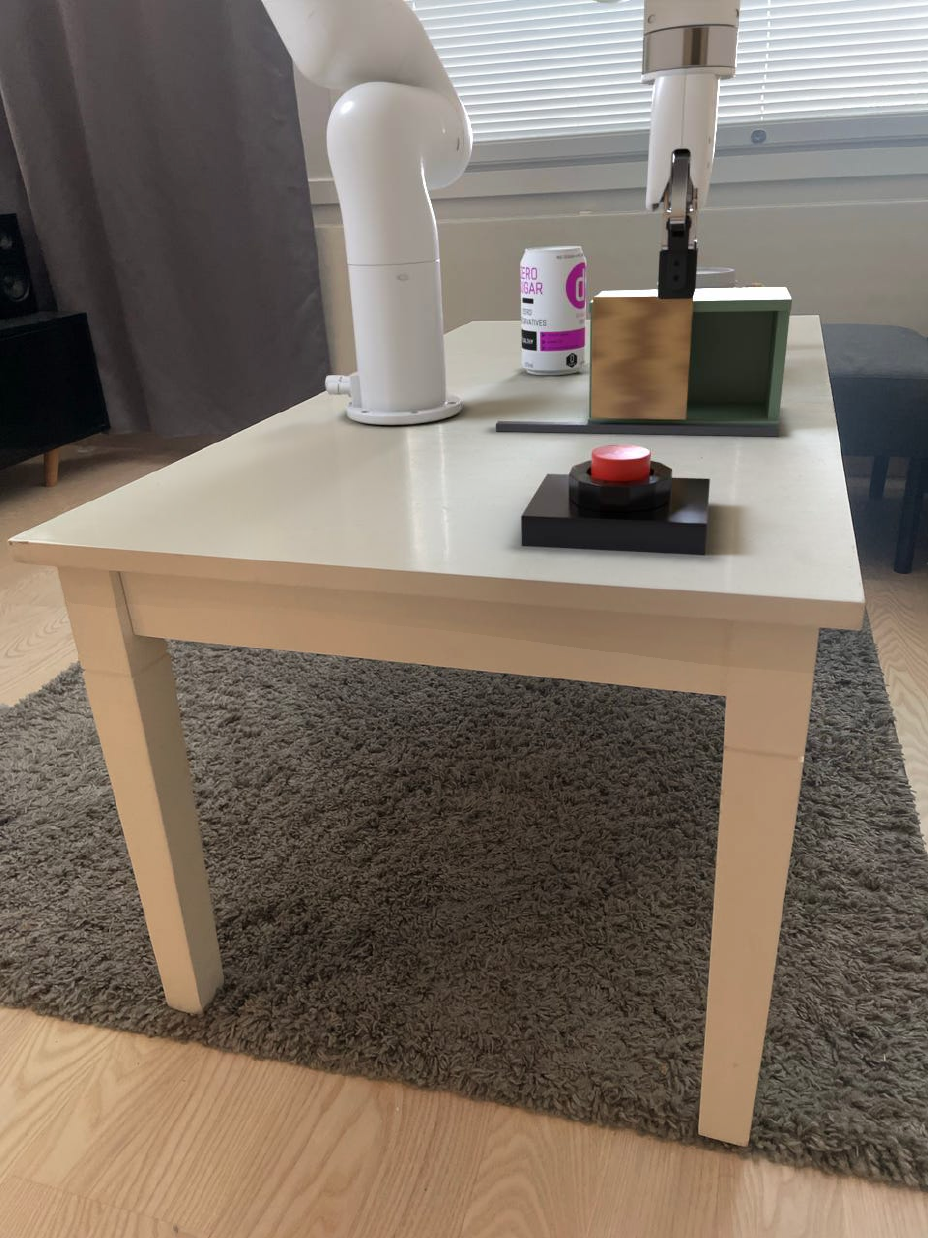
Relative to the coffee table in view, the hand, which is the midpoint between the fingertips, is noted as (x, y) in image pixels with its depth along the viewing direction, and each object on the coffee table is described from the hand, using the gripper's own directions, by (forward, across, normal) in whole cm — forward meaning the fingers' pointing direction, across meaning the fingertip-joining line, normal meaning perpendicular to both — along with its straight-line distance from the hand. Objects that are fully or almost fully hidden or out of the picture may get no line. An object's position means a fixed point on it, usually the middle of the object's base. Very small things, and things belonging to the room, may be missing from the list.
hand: (676, 295), depth 82 cm
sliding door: (+11, 0, -3) cm, 12 cm away
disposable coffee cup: (+13, -32, +1) cm, 34 cm away
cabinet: (+13, -5, -4) cm, 14 cm away
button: (+9, +27, -2) cm, 29 cm away
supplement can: (+13, -33, -17) cm, 39 cm away
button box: (+13, +27, -2) cm, 30 cm away
